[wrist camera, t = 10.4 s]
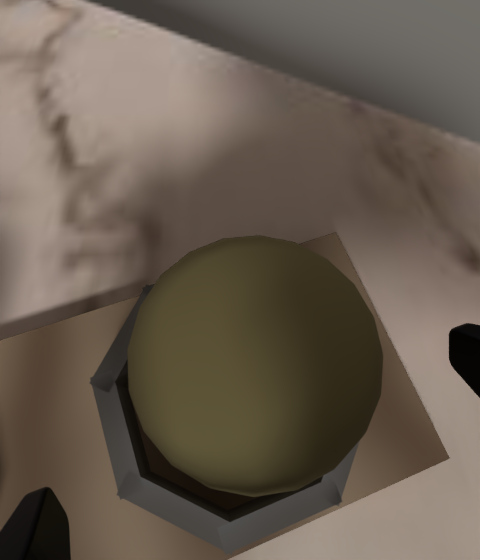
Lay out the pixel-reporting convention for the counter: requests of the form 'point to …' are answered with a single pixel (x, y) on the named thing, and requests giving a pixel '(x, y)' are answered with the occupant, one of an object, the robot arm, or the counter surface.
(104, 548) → the rail
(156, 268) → the counter surface
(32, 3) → the counter surface
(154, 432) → the olive green peg
